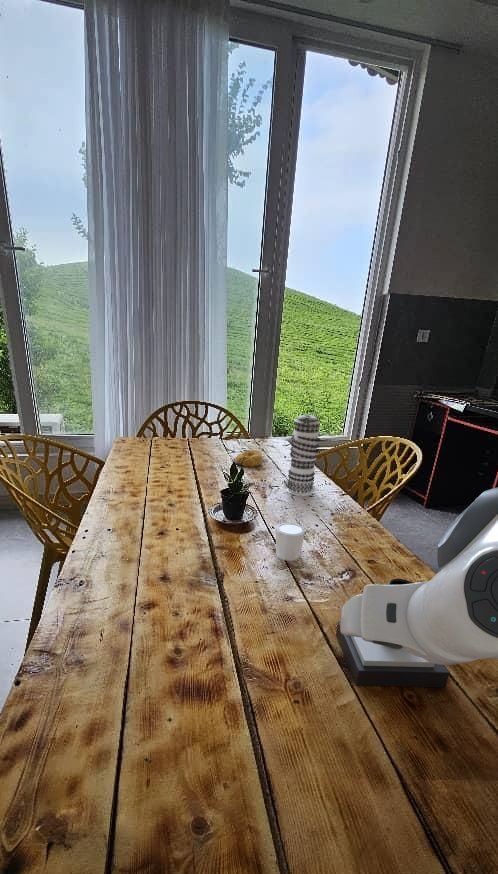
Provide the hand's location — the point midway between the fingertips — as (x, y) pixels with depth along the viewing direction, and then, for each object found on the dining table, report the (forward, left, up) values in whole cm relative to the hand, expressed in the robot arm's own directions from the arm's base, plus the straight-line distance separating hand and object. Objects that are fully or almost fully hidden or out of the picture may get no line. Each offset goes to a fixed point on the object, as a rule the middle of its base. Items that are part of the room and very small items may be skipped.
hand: (408, 637), depth 62 cm
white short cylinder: (+9, -43, -11) cm, 46 cm away
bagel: (+13, -116, -11) cm, 117 cm away
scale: (-2, -8, -11) cm, 14 cm away
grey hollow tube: (-2, -8, -7) cm, 11 cm away
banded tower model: (-2, -87, -11) cm, 88 cm away
